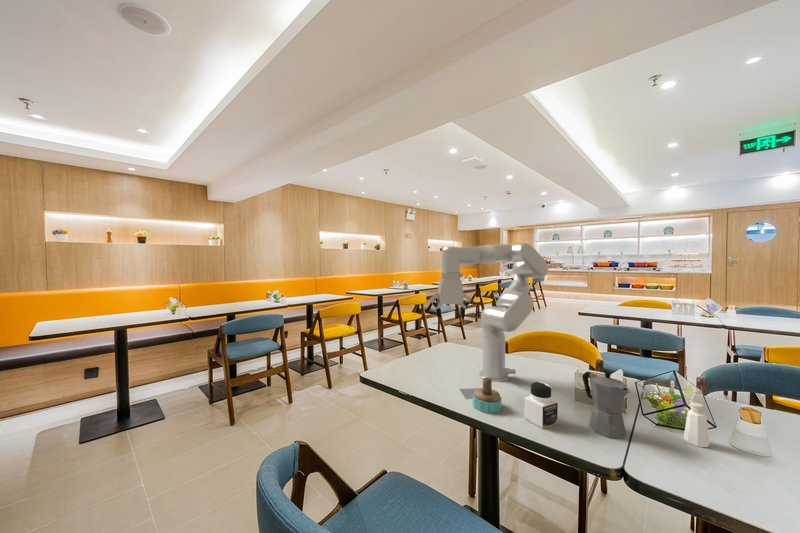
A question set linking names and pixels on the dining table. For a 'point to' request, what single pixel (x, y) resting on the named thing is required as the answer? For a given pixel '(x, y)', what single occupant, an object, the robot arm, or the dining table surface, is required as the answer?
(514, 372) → the robot arm
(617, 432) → the coffeepot
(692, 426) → the salt shaker
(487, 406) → the bowl
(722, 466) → the dining table surface
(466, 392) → the mat
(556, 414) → the medicine bottle
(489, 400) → the lid
